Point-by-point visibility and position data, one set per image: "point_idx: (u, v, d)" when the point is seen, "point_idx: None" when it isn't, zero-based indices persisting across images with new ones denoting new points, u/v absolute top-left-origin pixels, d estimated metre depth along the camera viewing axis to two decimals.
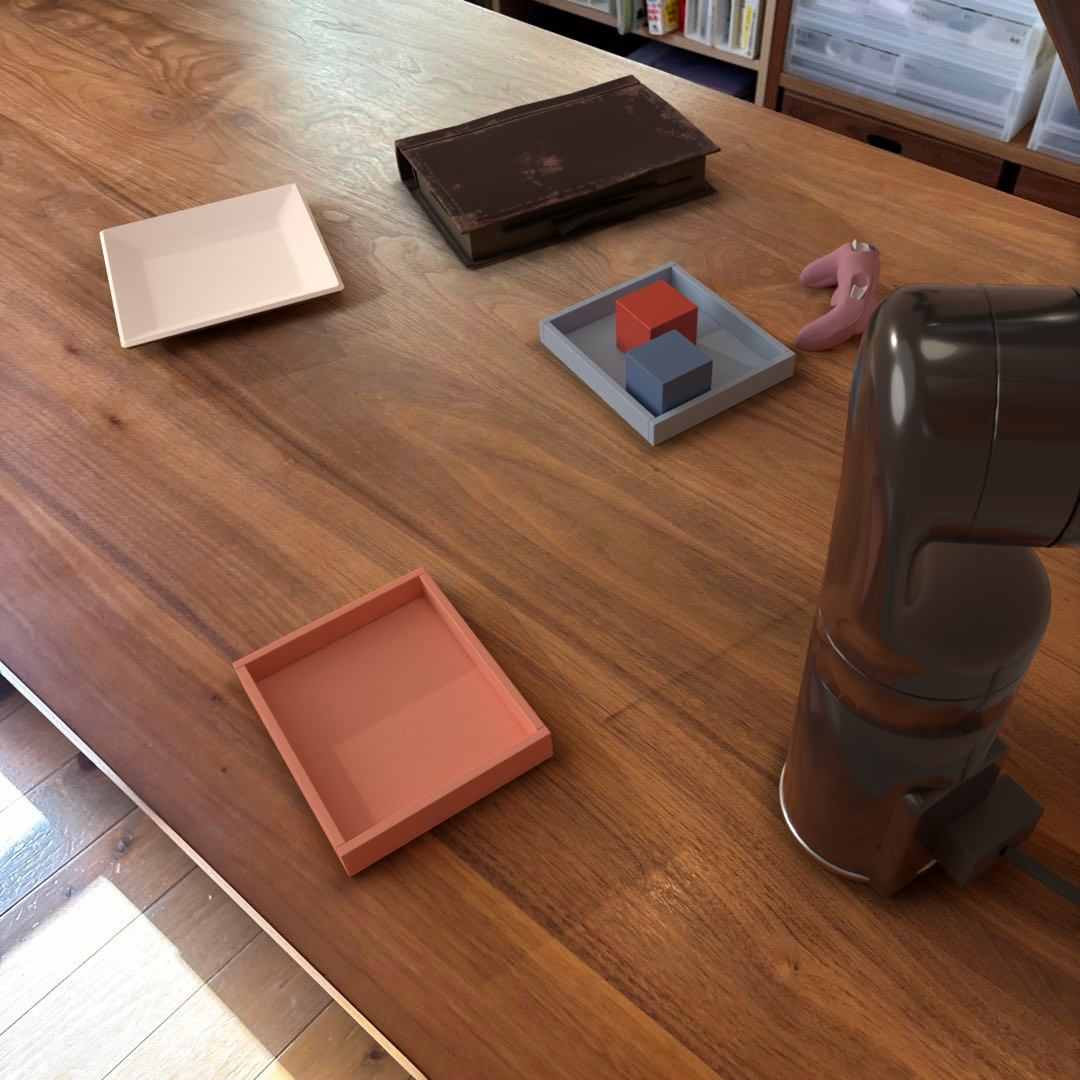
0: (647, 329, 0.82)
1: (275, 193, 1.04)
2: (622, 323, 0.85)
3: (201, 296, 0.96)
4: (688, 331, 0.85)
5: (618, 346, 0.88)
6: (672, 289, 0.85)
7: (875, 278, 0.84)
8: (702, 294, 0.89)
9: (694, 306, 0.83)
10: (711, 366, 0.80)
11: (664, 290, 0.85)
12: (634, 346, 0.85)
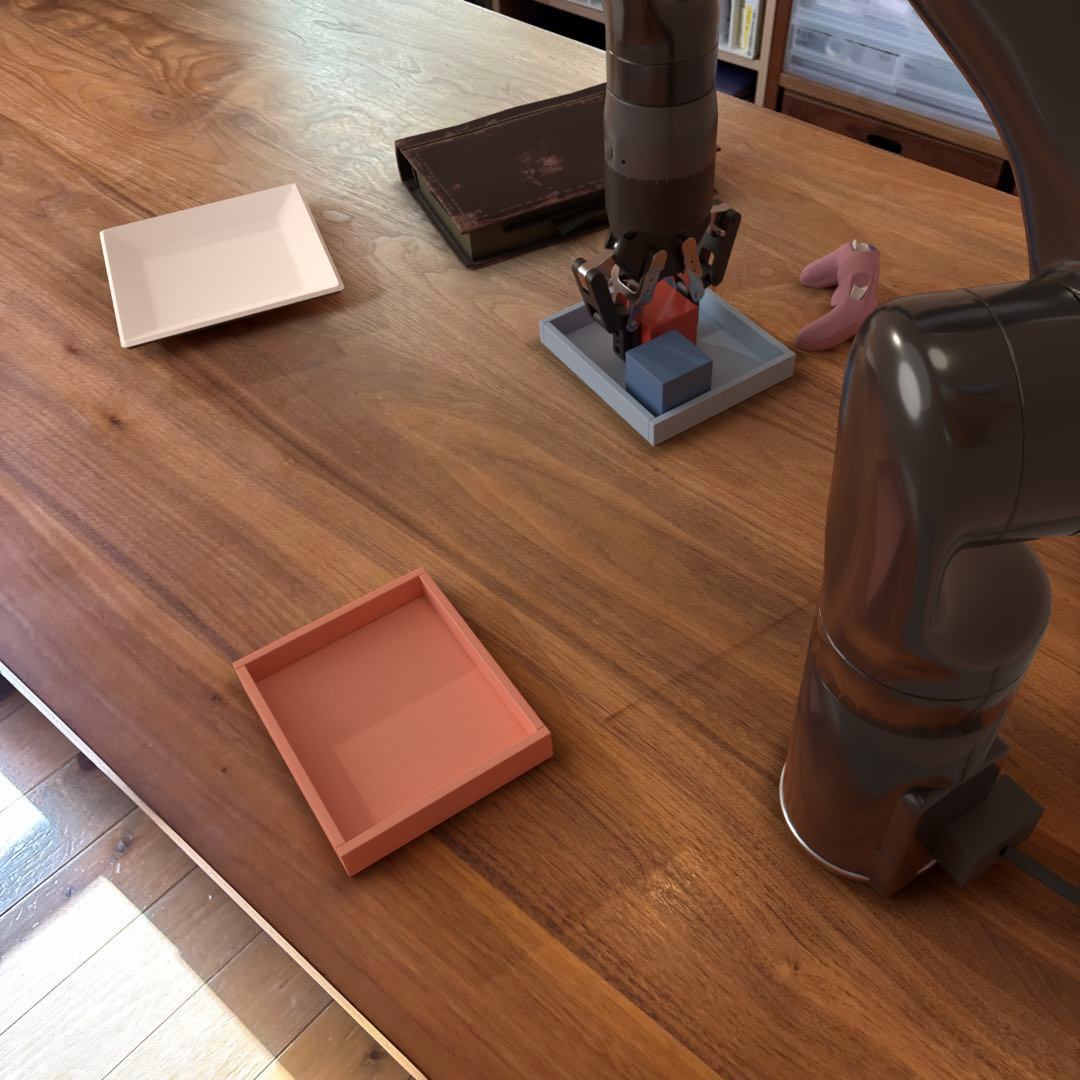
0: (647, 329, 0.82)
1: (275, 193, 1.04)
2: None
3: (201, 296, 0.96)
4: (688, 331, 0.85)
5: None
6: (672, 289, 0.85)
7: (875, 278, 0.84)
8: None
9: (694, 306, 0.83)
10: (711, 366, 0.80)
11: (664, 290, 0.85)
12: None
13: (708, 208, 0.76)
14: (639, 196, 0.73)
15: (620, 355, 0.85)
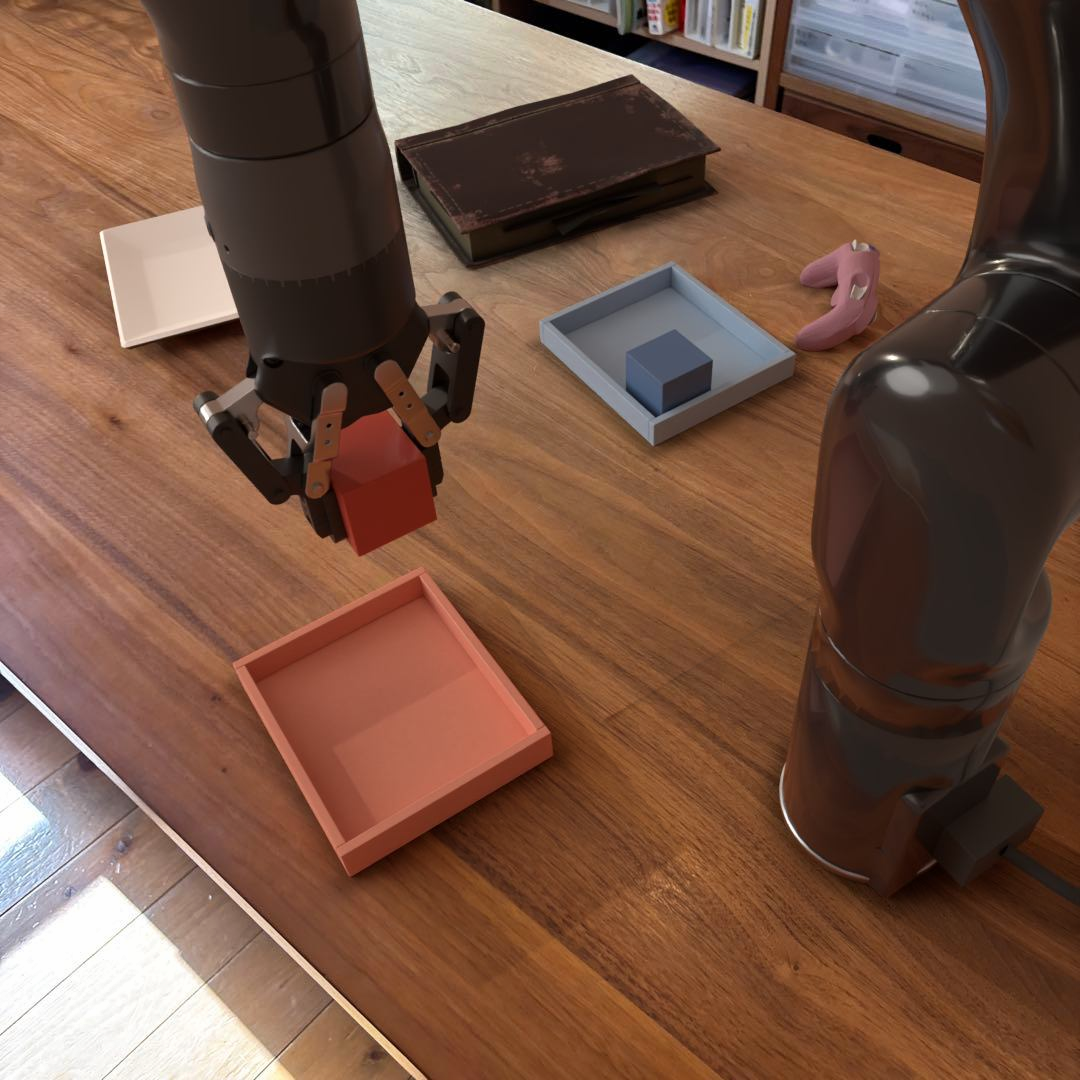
0: (339, 494, 0.52)
1: None
2: None
3: (201, 296, 0.96)
4: (415, 491, 0.55)
5: None
6: (394, 424, 0.55)
7: (875, 278, 0.84)
8: (702, 294, 0.89)
9: (419, 455, 0.53)
10: (711, 366, 0.80)
11: (381, 425, 0.55)
12: None
13: (396, 321, 0.46)
14: (263, 304, 0.43)
15: (313, 527, 0.55)
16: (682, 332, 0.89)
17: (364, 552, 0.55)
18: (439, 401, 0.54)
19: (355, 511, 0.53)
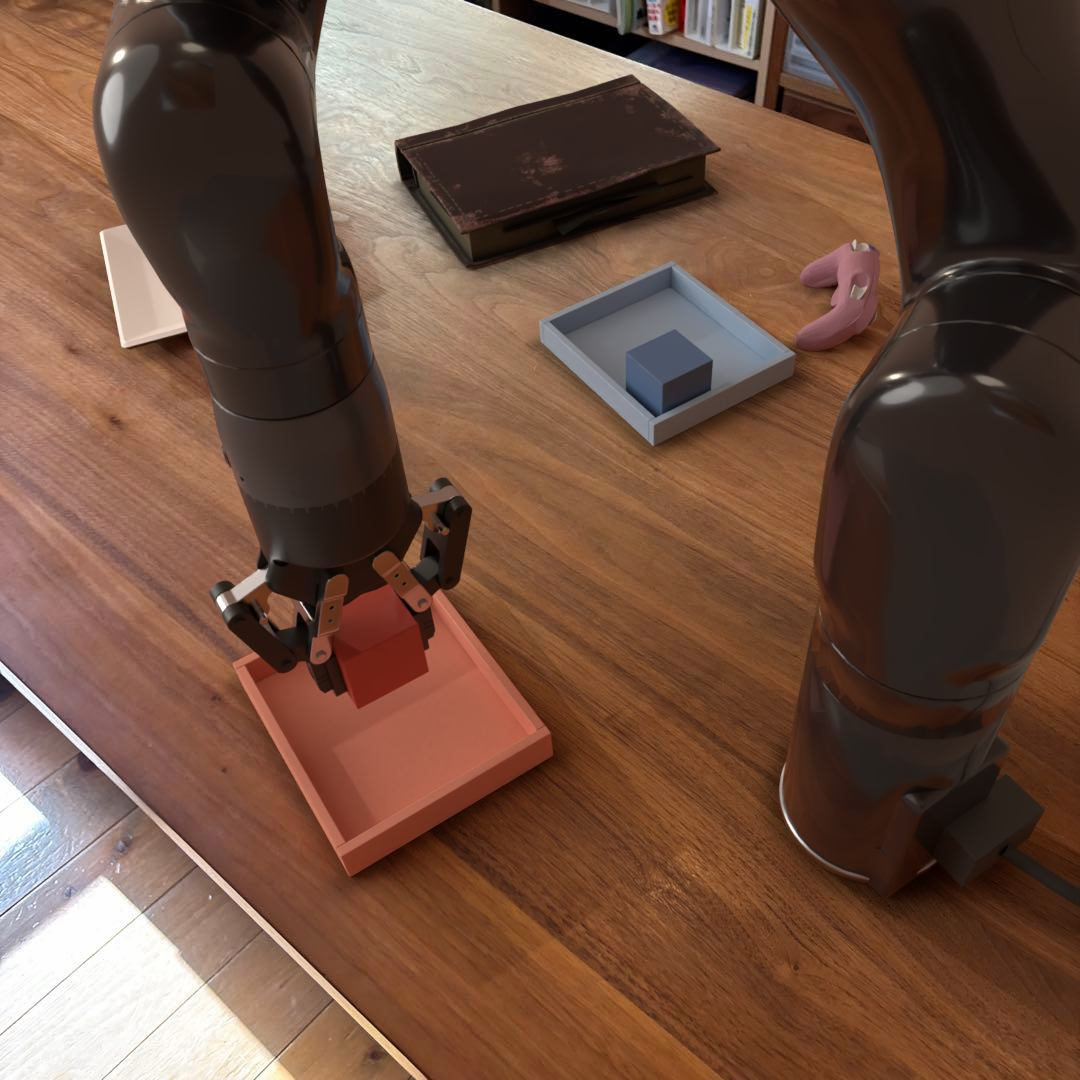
0: (340, 660, 0.58)
1: None
2: None
3: None
4: (409, 652, 0.60)
5: None
6: (390, 589, 0.61)
7: (875, 278, 0.84)
8: (702, 294, 0.89)
9: (413, 622, 0.59)
10: (711, 366, 0.80)
11: (378, 591, 0.61)
12: None
13: (392, 528, 0.51)
14: (274, 523, 0.49)
15: (316, 683, 0.61)
16: (682, 332, 0.89)
17: (362, 705, 0.61)
18: (431, 571, 0.60)
19: (355, 674, 0.59)
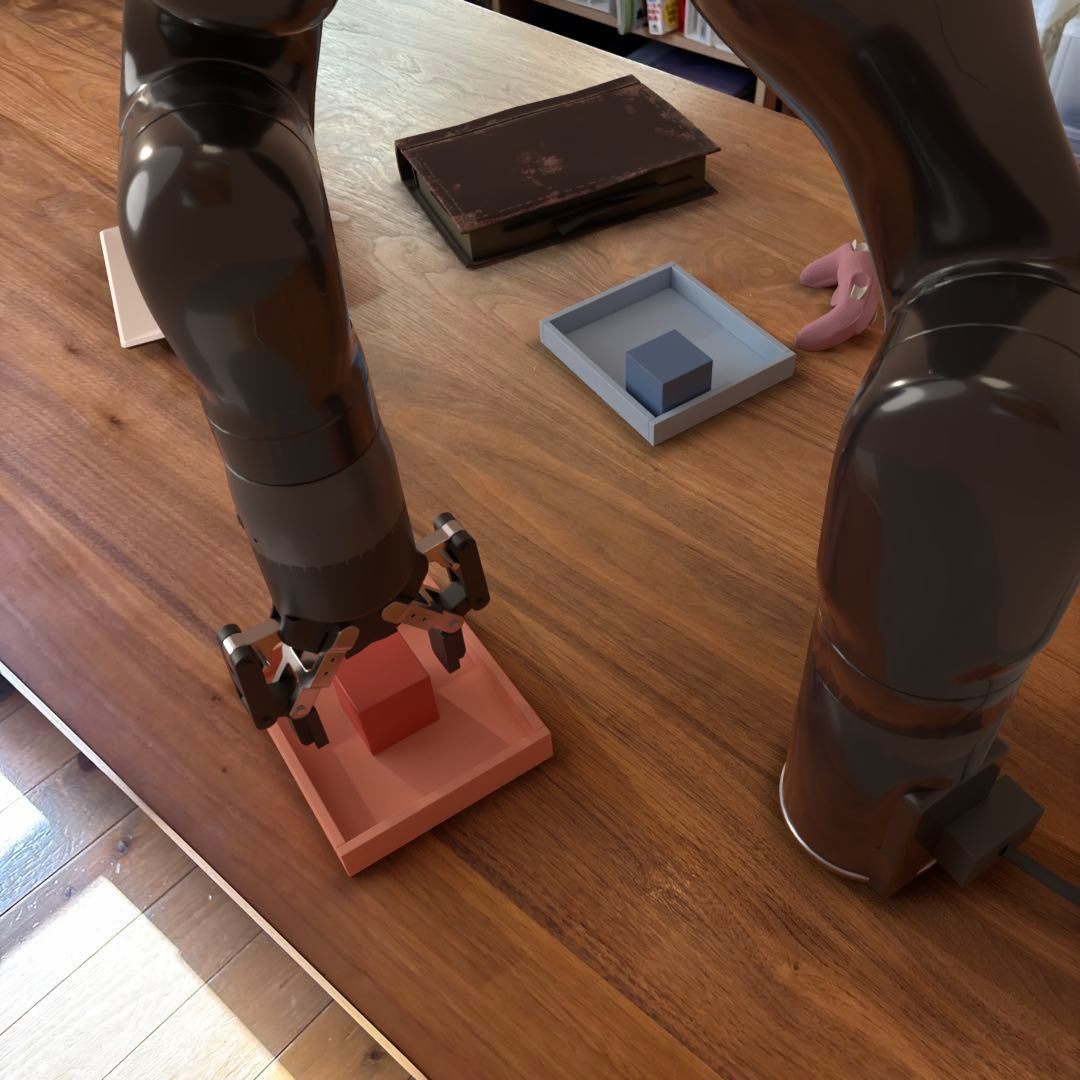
0: (356, 712, 0.61)
1: None
2: (336, 686, 0.64)
3: None
4: (421, 702, 0.64)
5: (341, 704, 0.67)
6: (403, 642, 0.64)
7: (875, 278, 0.84)
8: (702, 294, 0.89)
9: (424, 674, 0.63)
10: (711, 366, 0.80)
11: (391, 643, 0.64)
12: (352, 717, 0.64)
13: (400, 581, 0.53)
14: (287, 582, 0.51)
15: None
16: (682, 332, 0.89)
17: (377, 752, 0.64)
18: (460, 596, 0.62)
19: (370, 723, 0.62)
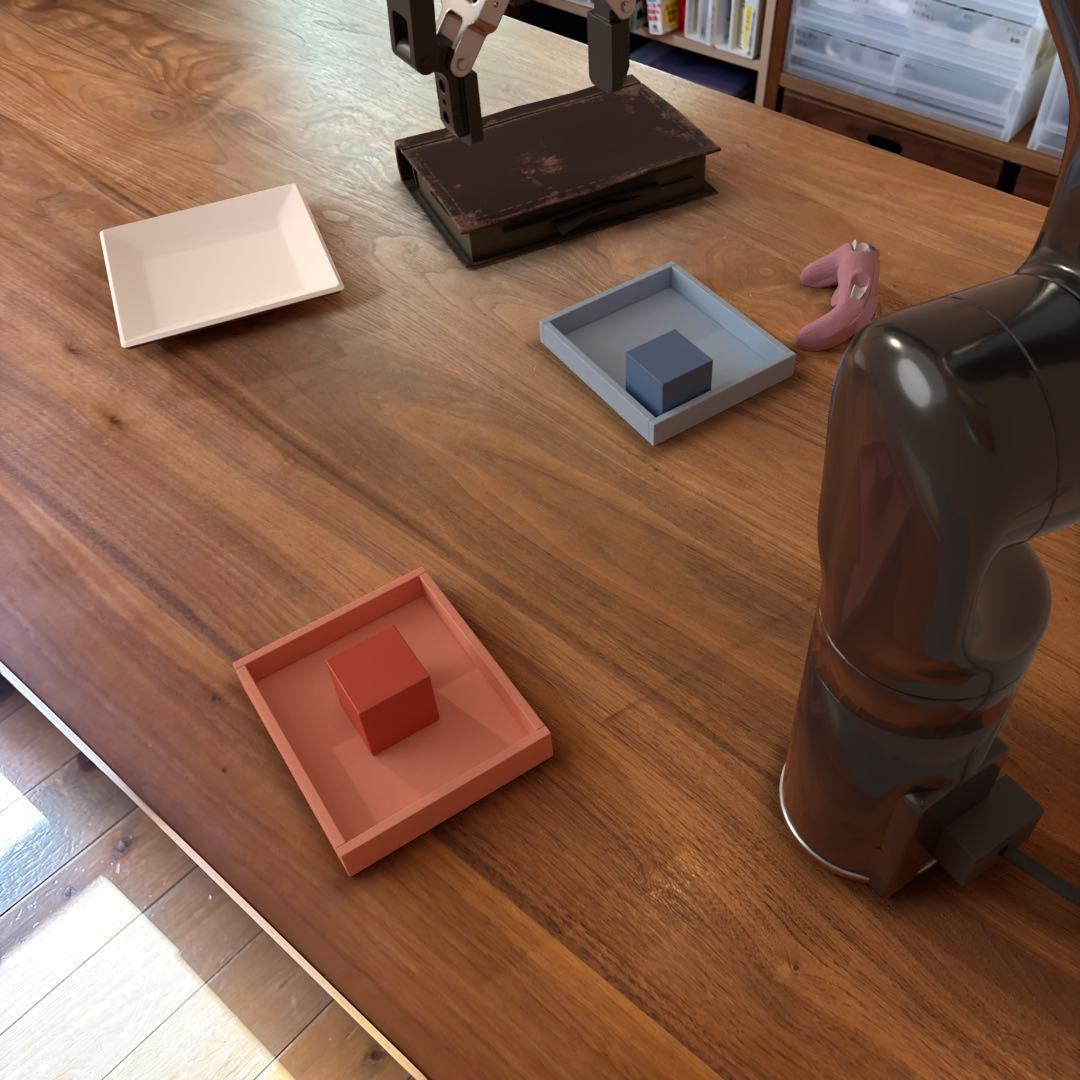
0: (356, 712, 0.61)
1: (275, 193, 1.04)
2: (336, 686, 0.64)
3: (201, 296, 0.96)
4: (421, 702, 0.64)
5: (341, 704, 0.67)
6: (403, 642, 0.64)
7: (875, 278, 0.84)
8: (702, 294, 0.89)
9: (424, 674, 0.63)
10: (711, 366, 0.80)
11: (391, 643, 0.64)
12: (352, 717, 0.64)
13: None
14: None
15: (450, 125, 0.55)
16: (682, 332, 0.89)
17: (377, 752, 0.64)
18: None
19: (370, 723, 0.62)
